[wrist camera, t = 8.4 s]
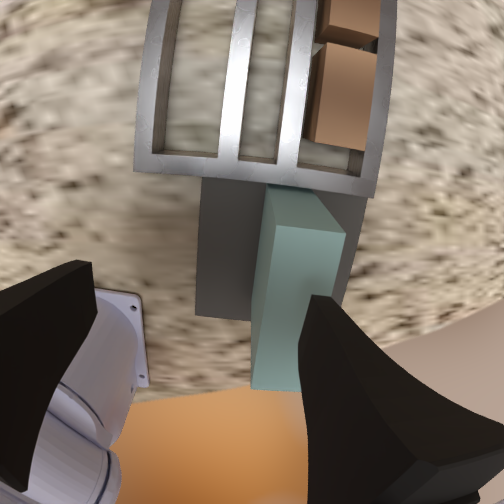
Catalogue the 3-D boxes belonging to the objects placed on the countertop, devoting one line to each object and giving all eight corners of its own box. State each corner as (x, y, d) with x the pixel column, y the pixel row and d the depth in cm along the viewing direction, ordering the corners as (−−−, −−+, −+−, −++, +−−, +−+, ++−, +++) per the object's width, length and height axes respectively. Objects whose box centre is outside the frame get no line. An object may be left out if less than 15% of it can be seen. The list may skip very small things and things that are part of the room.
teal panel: (288, 303, 21) (302, 391, 14) (251, 300, 21) (250, 389, 14) (309, 186, 18) (345, 233, 11) (266, 181, 18) (276, 225, 11)
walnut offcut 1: (354, 51, 15) (378, 37, 12) (314, 42, 15) (329, 24, 12) (359, -15, 14) (381, -39, 10) (320, -24, 13) (335, -52, 10)
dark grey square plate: (333, 324, 23) (334, 327, 22) (196, 312, 22) (195, 315, 22) (366, 189, 19) (369, 191, 18) (203, 168, 18) (202, 169, 18)
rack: (359, 188, 19) (373, 198, 16) (147, 165, 18) (133, 171, 16) (382, -36, 12) (396, -51, 10) (180, -62, 12) (172, -80, 10)
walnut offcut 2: (342, 144, 18) (364, 151, 14) (302, 137, 18) (314, 142, 14) (353, 66, 16) (377, 54, 12) (312, 57, 16) (327, 42, 12)
